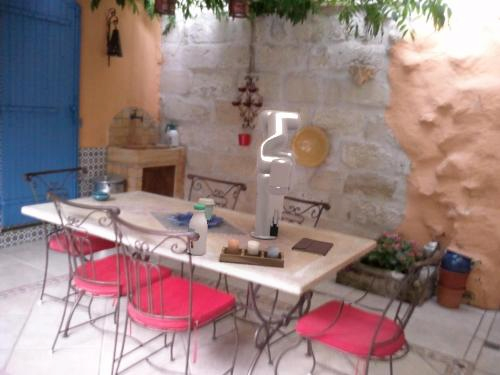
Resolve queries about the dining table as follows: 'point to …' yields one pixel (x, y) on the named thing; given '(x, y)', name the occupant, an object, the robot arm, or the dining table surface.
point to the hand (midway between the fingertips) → (273, 235)
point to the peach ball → (233, 245)
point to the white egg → (253, 247)
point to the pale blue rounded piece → (273, 252)
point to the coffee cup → (207, 207)
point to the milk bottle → (198, 230)
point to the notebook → (312, 246)
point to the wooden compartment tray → (251, 258)
